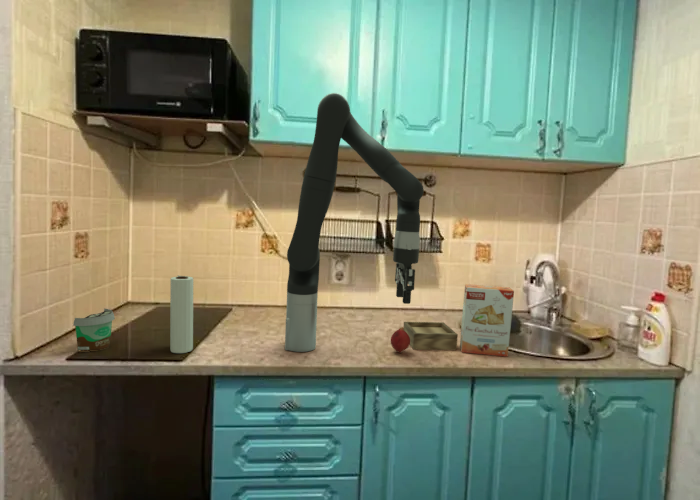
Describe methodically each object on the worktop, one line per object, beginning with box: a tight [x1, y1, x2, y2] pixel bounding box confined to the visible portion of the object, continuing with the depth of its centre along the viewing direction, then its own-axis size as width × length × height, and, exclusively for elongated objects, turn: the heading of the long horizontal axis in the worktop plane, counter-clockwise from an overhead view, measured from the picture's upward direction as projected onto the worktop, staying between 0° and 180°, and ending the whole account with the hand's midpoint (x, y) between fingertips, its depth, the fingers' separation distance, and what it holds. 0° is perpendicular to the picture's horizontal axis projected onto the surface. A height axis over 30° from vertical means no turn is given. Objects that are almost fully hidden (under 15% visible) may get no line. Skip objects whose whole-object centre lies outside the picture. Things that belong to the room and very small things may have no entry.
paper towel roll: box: [169, 275, 194, 354], centre depth 124 cm, size 7×6×21 cm
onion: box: [390, 326, 410, 354], centre depth 131 cm, size 6×6×8 cm
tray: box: [403, 321, 458, 351], centre depth 142 cm, size 14×14×5 cm
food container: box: [72, 308, 116, 351], centre depth 123 cm, size 12×6×10 cm, turn 171°
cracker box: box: [459, 283, 515, 357], centre depth 134 cm, size 14×6×21 cm, turn 82°
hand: (402, 300), depth 130 cm, fingers open, 8 cm apart
